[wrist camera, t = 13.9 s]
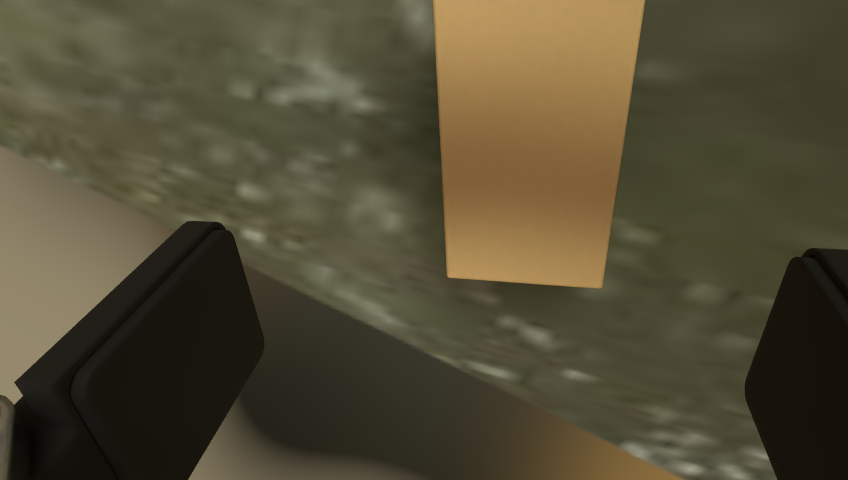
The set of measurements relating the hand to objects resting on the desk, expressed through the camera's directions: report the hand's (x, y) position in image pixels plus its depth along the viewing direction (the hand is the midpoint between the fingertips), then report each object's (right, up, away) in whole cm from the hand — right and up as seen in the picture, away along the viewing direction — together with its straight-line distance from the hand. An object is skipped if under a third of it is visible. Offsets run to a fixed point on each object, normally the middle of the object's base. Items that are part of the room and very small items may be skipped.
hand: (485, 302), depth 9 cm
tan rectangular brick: (+2, +5, +6) cm, 9 cm away
